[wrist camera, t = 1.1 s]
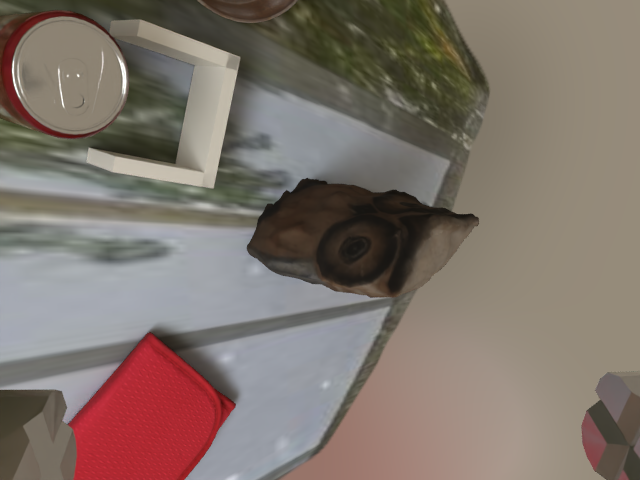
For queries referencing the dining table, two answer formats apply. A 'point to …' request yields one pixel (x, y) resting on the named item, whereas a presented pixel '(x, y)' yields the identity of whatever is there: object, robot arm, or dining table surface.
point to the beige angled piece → (201, 112)
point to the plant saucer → (248, 9)
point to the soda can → (60, 74)
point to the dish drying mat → (148, 419)
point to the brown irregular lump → (357, 238)
